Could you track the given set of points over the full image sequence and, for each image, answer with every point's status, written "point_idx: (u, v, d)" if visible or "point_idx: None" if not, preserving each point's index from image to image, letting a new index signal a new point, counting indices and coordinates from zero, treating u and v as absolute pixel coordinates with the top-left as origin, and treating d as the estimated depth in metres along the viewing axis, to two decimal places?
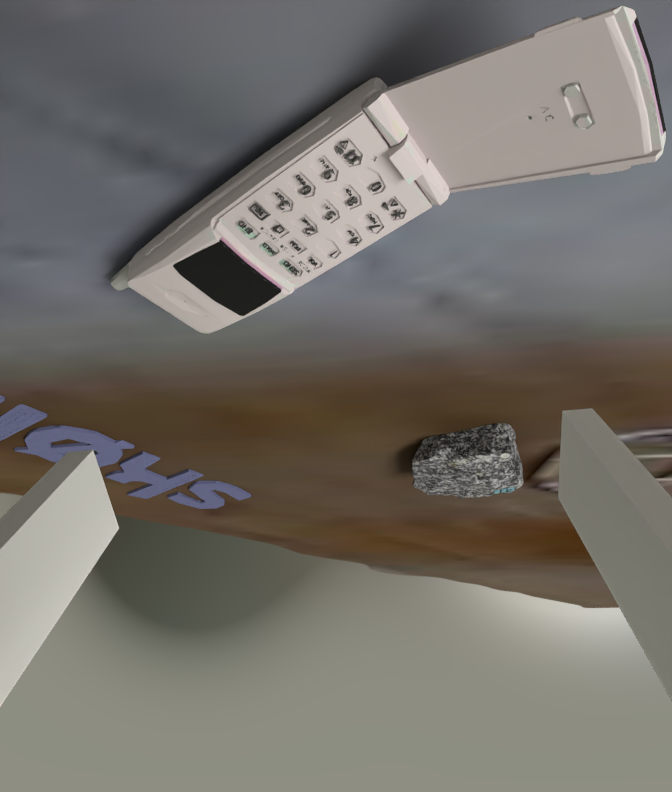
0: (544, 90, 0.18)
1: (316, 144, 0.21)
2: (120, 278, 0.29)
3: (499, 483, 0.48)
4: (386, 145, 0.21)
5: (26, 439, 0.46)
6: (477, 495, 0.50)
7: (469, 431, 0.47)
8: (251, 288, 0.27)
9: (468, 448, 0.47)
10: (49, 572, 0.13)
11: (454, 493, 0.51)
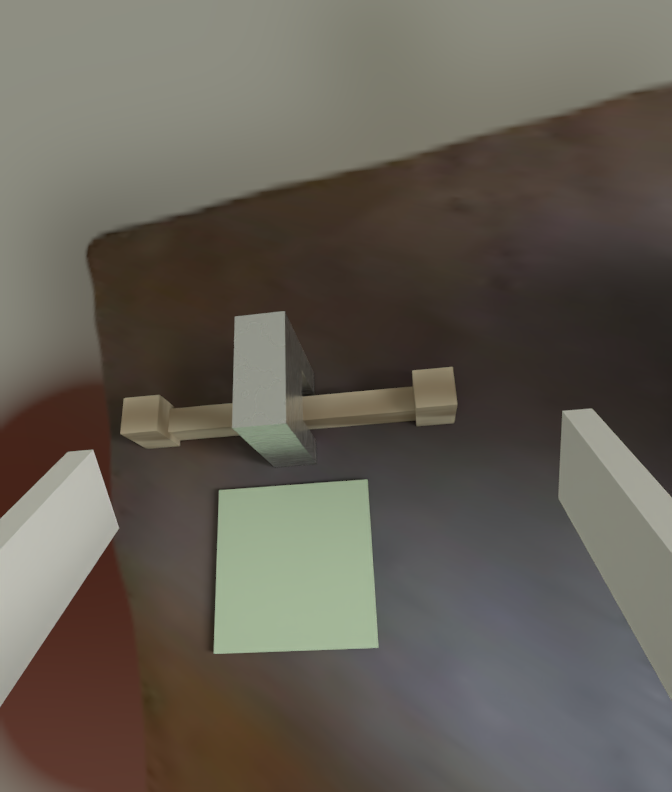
0: None
1: None
2: None
3: None
4: None
5: None
6: None
7: None
8: None
9: None
10: (49, 572, 0.13)
11: None
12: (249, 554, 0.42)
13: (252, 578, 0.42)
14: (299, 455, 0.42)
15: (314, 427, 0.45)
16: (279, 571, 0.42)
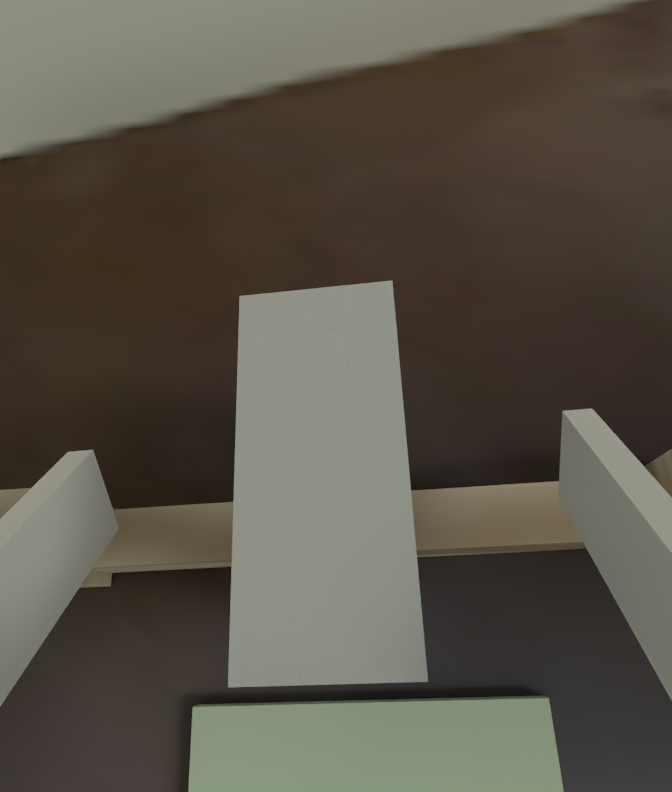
0: None
1: None
2: None
3: None
4: None
5: None
6: None
7: None
8: None
9: None
10: (49, 572, 0.13)
11: None
12: None
13: None
14: None
15: None
16: None
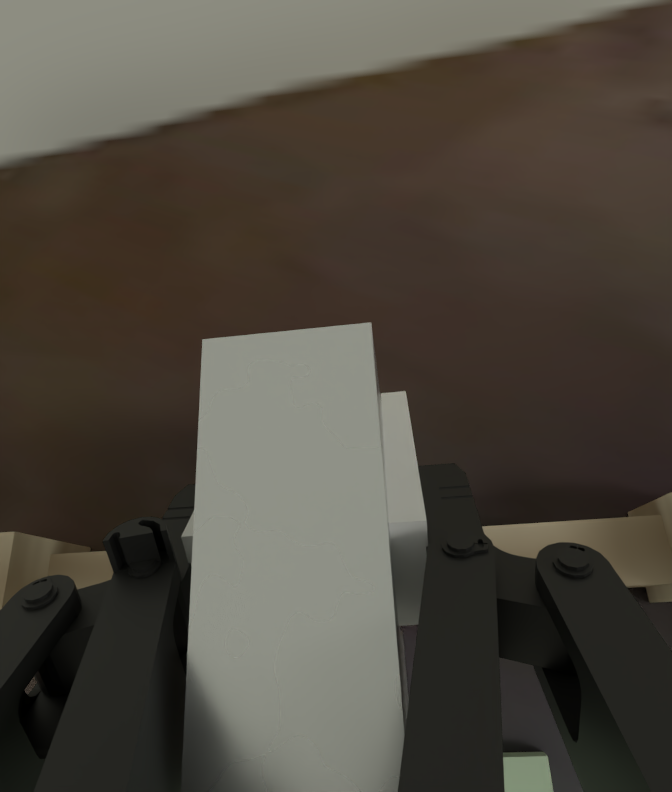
0: None
1: None
2: None
3: None
4: None
5: None
6: None
7: None
8: None
9: None
10: None
11: None
12: None
13: None
14: None
15: None
16: None
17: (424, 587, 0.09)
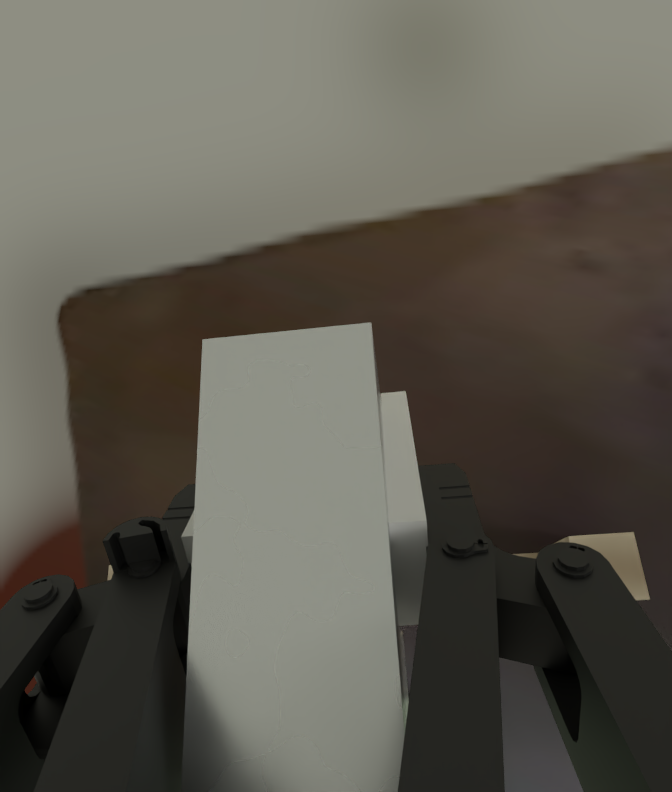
0: None
1: None
2: None
3: None
4: None
5: None
6: None
7: None
8: None
9: None
10: None
11: None
12: None
13: None
14: None
15: None
16: None
17: (424, 587, 0.09)
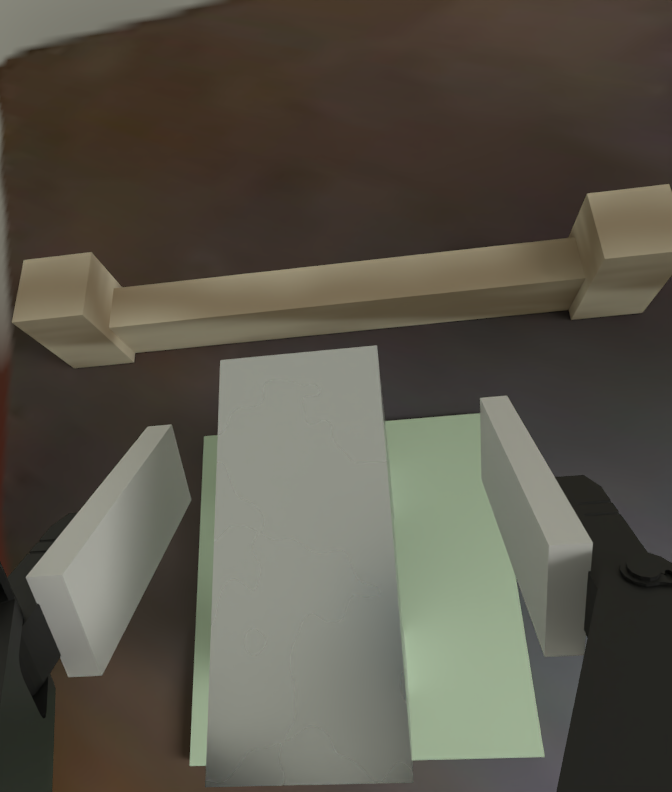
0: None
1: None
2: None
3: None
4: None
5: None
6: None
7: None
8: None
9: None
10: (144, 534, 0.14)
11: None
12: None
13: None
14: None
15: (380, 324, 0.25)
16: None
17: (595, 610, 0.09)
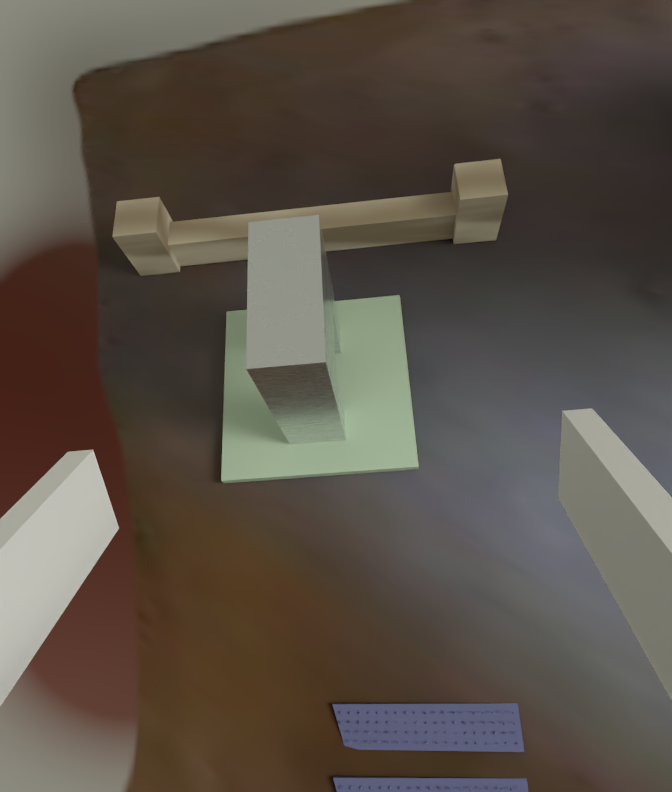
0: None
1: None
2: None
3: None
4: None
5: None
6: None
7: None
8: None
9: None
10: (49, 572, 0.13)
11: None
12: None
13: None
14: (328, 424, 0.31)
15: (336, 246, 0.40)
16: None
17: None
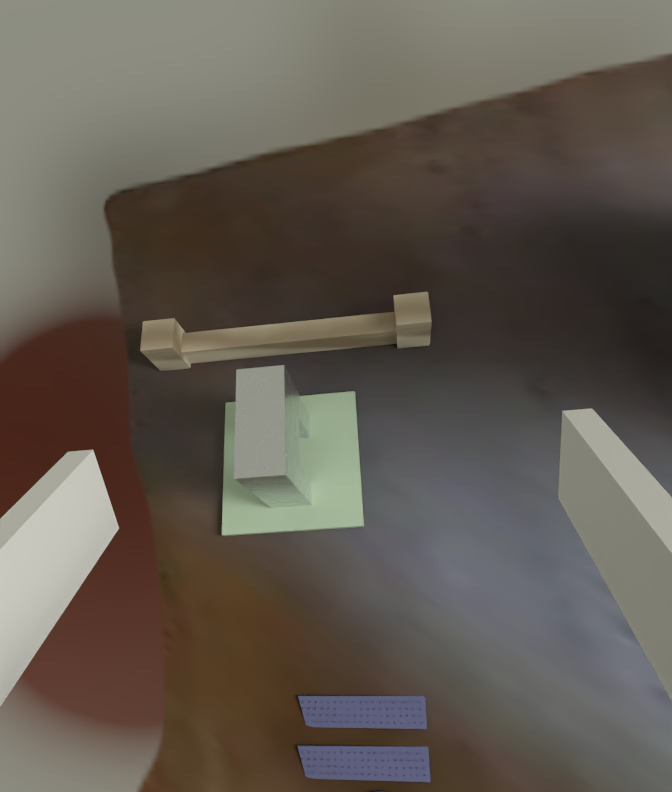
0: None
1: None
2: None
3: None
4: None
5: None
6: None
7: None
8: None
9: None
10: (49, 572, 0.13)
11: None
12: None
13: None
14: (296, 498, 0.44)
15: (309, 350, 0.52)
16: None
17: None
